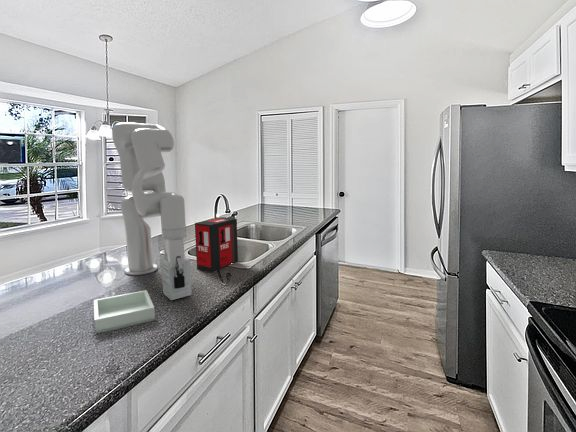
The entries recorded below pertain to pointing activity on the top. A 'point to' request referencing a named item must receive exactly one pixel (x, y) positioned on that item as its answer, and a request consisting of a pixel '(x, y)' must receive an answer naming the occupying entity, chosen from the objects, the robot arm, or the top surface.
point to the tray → (123, 311)
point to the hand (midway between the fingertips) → (176, 283)
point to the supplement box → (169, 280)
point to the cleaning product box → (216, 243)
